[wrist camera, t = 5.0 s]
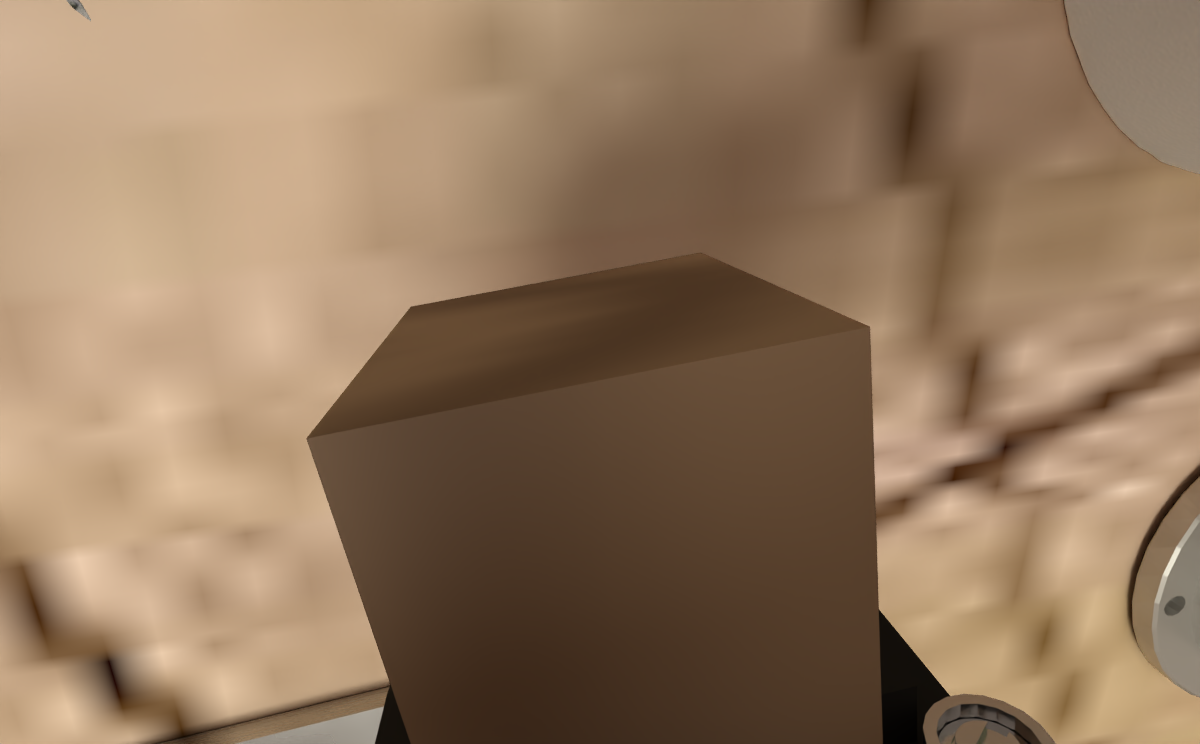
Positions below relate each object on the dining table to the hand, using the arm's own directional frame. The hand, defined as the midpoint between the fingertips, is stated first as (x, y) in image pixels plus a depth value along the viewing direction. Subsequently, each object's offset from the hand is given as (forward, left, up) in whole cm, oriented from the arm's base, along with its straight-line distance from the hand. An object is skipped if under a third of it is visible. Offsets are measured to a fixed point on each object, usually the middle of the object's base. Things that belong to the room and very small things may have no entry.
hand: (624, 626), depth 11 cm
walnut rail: (0, +3, -1) cm, 3 cm away
